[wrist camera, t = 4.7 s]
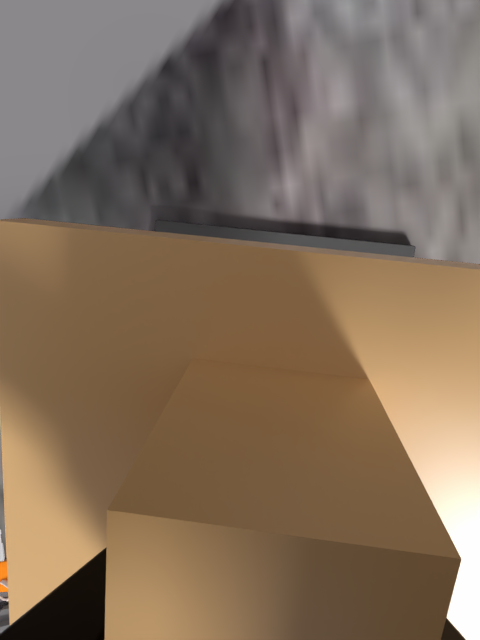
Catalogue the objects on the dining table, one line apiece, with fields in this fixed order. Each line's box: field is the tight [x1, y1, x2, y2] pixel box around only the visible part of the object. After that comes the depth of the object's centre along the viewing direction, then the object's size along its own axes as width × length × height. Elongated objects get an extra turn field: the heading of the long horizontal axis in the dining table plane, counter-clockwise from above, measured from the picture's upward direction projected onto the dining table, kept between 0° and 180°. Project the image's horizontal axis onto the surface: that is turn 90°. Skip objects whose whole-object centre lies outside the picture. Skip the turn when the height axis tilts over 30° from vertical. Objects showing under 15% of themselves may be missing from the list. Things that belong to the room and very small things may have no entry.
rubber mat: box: [155, 220, 415, 258], centre depth 19 cm, size 10×9×1 cm
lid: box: [0, 218, 480, 640], centre depth 7 cm, size 10×10×6 cm
